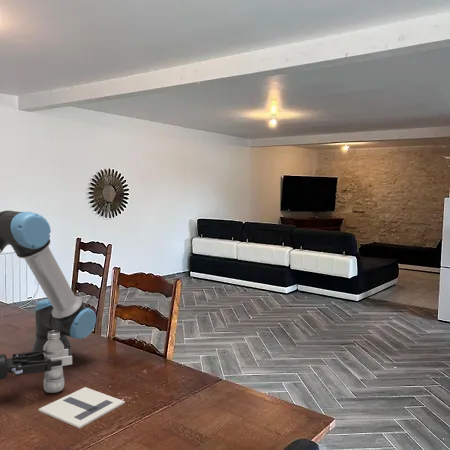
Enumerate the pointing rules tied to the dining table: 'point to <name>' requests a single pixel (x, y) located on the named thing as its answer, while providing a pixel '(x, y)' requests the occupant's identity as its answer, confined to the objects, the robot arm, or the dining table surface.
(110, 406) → the letter board
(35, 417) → the dining table surface
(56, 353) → the plastic bottle
